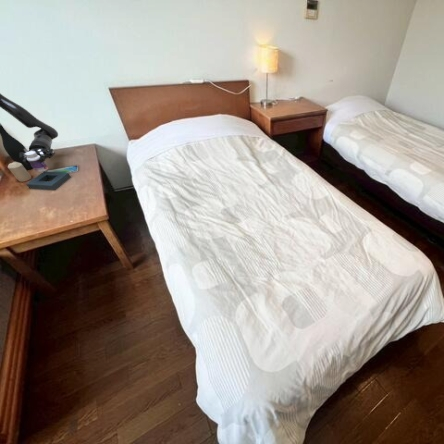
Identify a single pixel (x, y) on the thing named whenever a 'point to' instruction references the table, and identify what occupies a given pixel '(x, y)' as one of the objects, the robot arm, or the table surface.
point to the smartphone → (65, 169)
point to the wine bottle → (13, 147)
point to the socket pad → (42, 179)
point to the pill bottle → (36, 161)
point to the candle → (19, 171)
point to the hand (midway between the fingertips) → (33, 161)
